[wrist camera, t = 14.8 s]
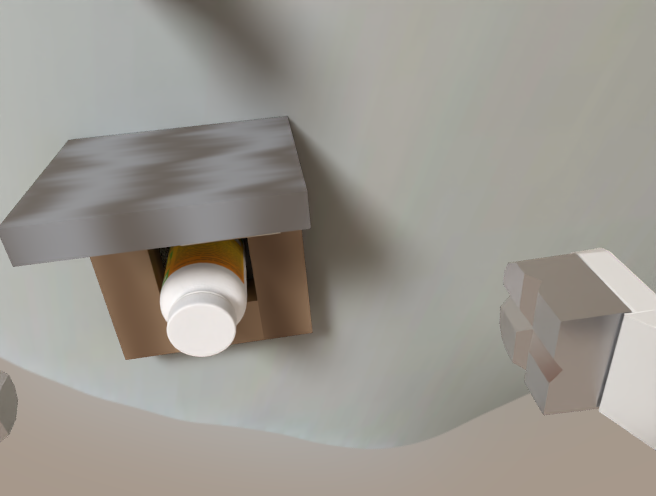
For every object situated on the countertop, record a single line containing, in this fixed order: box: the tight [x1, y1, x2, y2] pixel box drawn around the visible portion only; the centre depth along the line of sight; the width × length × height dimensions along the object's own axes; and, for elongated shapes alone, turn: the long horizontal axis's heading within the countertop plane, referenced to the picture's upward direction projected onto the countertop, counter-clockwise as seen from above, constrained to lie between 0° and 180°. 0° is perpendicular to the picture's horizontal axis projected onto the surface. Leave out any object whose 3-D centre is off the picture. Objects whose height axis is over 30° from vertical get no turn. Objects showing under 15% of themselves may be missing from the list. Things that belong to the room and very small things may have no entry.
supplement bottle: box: [160, 238, 247, 357], centre depth 35 cm, size 5×5×10 cm
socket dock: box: [0, 116, 312, 360], centre depth 34 cm, size 14×16×12 cm
